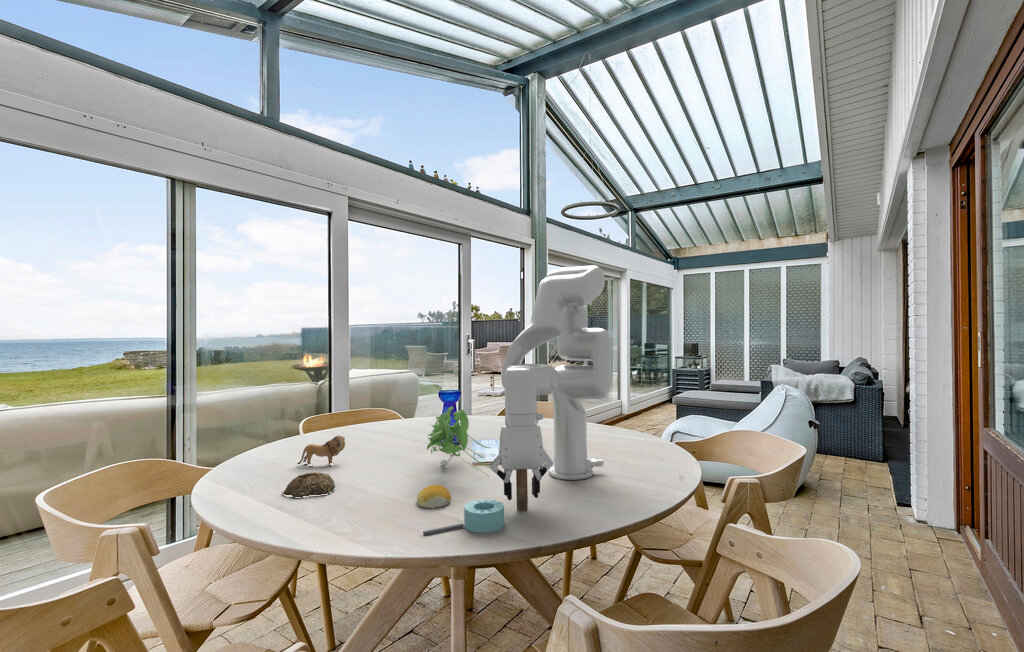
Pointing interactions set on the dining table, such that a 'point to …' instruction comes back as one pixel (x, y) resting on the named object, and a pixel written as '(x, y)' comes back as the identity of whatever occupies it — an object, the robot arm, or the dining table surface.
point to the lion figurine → (324, 449)
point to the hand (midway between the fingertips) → (522, 496)
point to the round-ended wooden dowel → (521, 490)
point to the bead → (484, 515)
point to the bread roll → (433, 496)
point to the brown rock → (310, 485)
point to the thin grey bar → (443, 529)
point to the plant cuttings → (444, 432)
